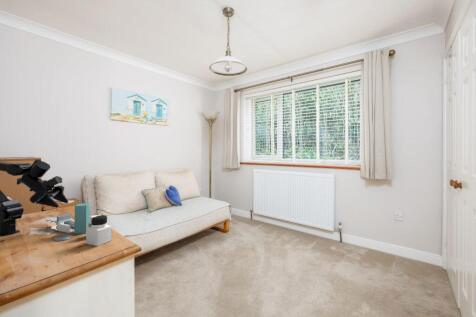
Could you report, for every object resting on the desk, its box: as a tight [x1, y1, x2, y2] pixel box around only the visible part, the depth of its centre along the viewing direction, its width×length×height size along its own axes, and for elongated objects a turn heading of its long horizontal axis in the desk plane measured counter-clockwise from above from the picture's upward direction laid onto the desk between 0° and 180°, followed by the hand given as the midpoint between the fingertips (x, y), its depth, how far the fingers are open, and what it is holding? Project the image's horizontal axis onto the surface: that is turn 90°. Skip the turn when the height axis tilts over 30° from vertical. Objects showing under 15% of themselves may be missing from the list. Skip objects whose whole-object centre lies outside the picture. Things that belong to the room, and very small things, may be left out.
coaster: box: [53, 234, 73, 242], centre depth 102 cm, size 7×7×1 cm
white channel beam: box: [56, 219, 75, 234], centre depth 115 cm, size 13×7×4 cm, turn 71°
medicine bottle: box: [85, 214, 113, 247], centre depth 99 cm, size 7×7×12 cm
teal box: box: [73, 202, 91, 235], centre depth 111 cm, size 5×5×14 cm
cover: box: [45, 213, 74, 224], centre depth 116 cm, size 10×7×3 cm
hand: (63, 204), depth 108 cm, fingers open, 9 cm apart
